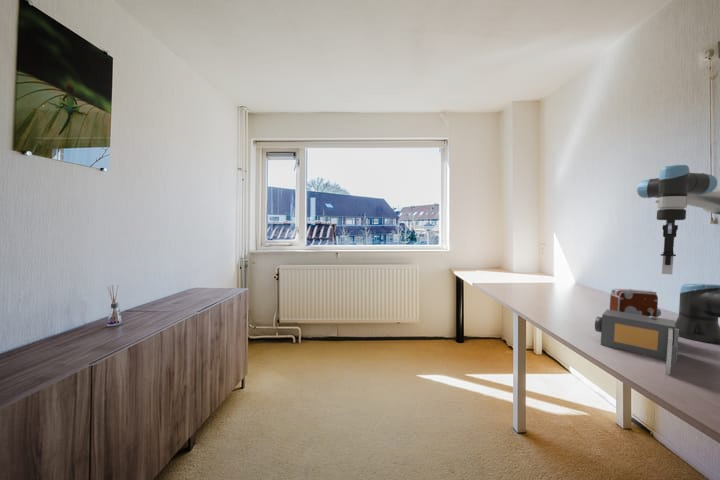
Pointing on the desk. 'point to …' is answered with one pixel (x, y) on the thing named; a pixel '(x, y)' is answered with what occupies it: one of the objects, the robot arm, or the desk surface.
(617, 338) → the grey cabinet with knob
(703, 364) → the desk surface
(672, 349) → the side door
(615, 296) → the cine camera
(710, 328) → the robot arm
